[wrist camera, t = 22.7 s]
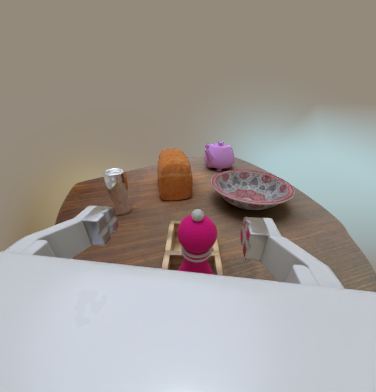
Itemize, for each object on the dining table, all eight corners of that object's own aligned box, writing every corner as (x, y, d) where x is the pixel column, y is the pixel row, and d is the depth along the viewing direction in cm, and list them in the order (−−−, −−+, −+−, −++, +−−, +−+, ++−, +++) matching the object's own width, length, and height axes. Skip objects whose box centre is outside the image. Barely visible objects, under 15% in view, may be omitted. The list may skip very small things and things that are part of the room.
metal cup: (129, 216, 58) (121, 175, 51) (109, 215, 59) (98, 175, 51) (135, 205, 65) (128, 167, 57) (117, 205, 65) (108, 167, 57)
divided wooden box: (225, 328, 29) (230, 309, 27) (158, 327, 30) (154, 308, 27) (211, 237, 49) (213, 221, 46) (171, 237, 49) (170, 220, 46)
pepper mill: (219, 307, 31) (233, 221, 22) (181, 319, 30) (178, 231, 20) (205, 274, 37) (211, 194, 28) (173, 282, 36) (167, 201, 26)
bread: (159, 202, 67) (155, 163, 59) (159, 176, 89) (156, 146, 82) (193, 199, 68) (194, 161, 61) (185, 175, 91) (184, 145, 83)
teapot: (191, 166, 103) (191, 141, 96) (213, 160, 114) (214, 137, 107) (215, 176, 90) (218, 147, 83) (237, 168, 101) (241, 142, 94)
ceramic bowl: (202, 187, 78) (203, 171, 74) (261, 183, 82) (265, 168, 78) (223, 228, 53) (226, 207, 49) (307, 220, 56) (316, 199, 52)
